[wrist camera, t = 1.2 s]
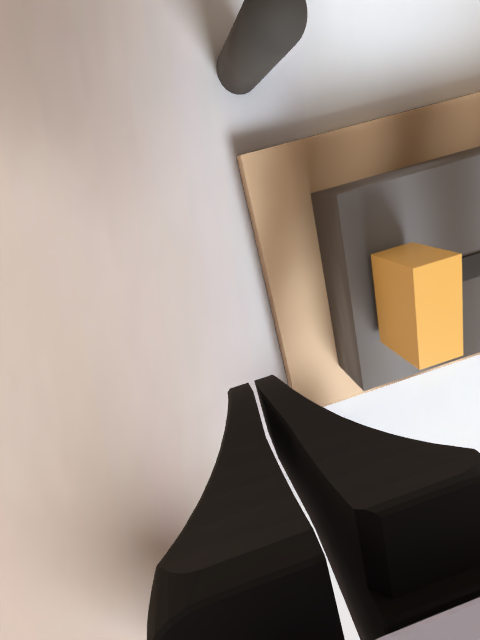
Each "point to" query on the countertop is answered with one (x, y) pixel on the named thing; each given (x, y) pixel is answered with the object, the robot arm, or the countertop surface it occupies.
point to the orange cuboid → (419, 302)
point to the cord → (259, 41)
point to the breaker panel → (295, 228)
